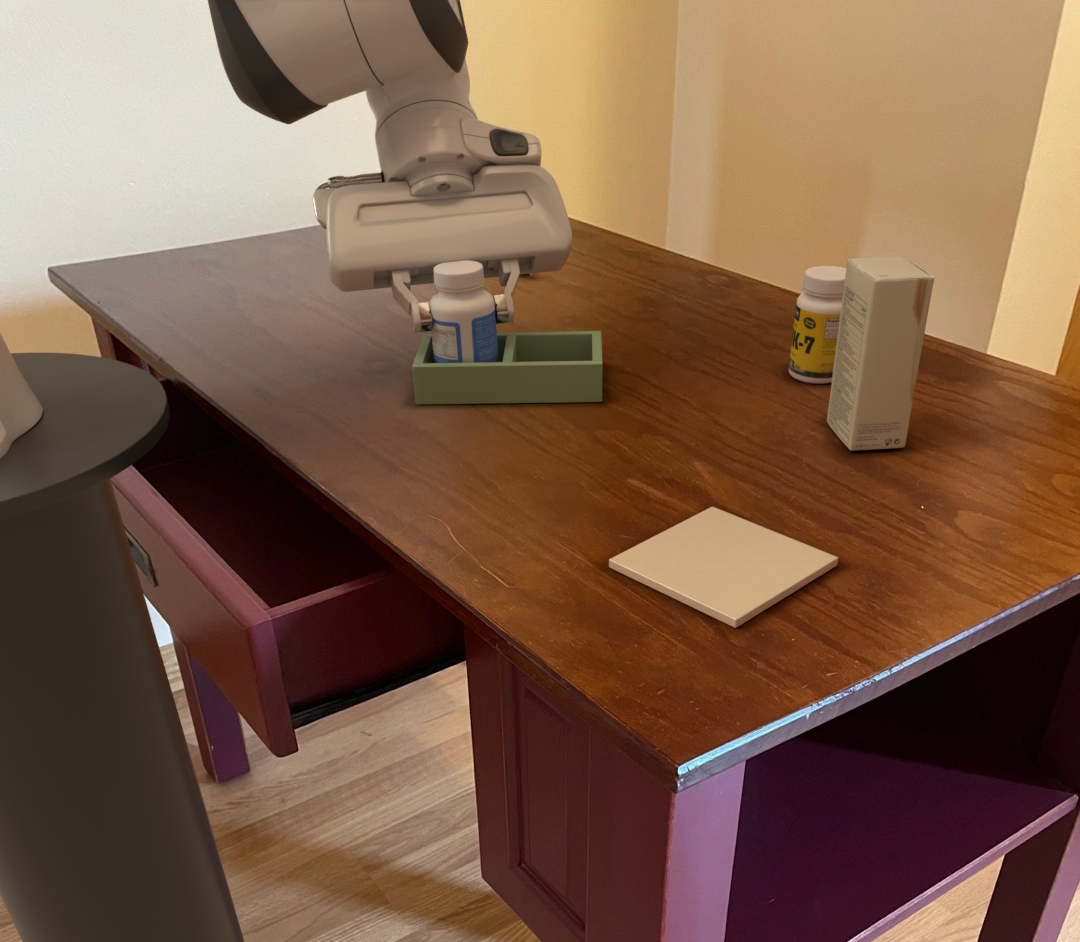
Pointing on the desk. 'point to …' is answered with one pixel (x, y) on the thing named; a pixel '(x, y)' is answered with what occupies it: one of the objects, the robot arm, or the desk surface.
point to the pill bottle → (462, 315)
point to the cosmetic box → (878, 351)
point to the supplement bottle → (817, 325)
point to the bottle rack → (516, 371)
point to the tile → (723, 565)
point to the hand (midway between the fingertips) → (465, 324)
